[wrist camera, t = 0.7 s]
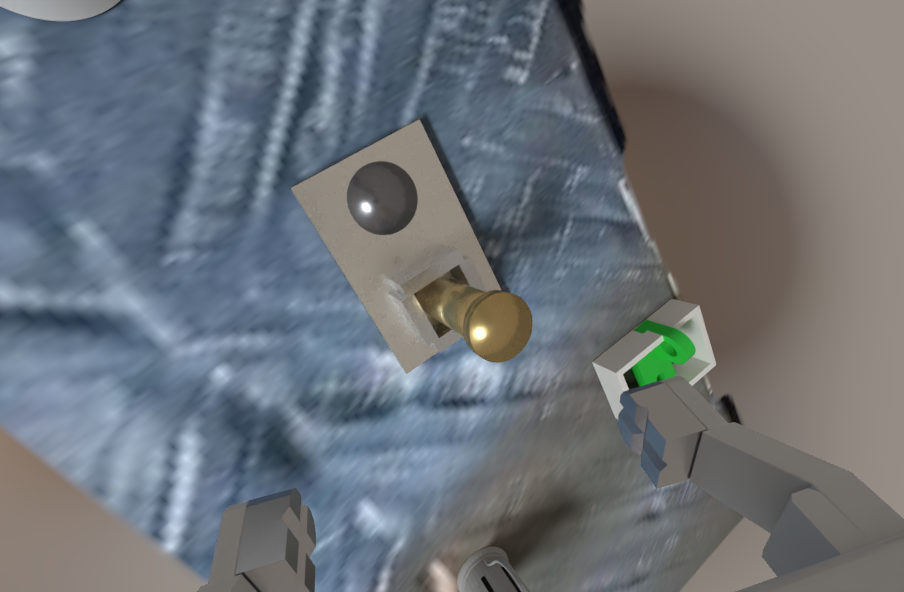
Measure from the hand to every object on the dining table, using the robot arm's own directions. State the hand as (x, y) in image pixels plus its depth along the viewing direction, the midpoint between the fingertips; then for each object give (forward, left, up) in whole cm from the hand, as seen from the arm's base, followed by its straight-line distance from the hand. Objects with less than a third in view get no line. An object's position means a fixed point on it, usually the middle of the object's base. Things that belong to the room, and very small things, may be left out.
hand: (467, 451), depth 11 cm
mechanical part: (+42, +37, -42) cm, 70 cm away
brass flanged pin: (+12, +11, -40) cm, 43 cm away
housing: (+6, +11, -42) cm, 44 cm away
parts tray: (+42, +37, -42) cm, 70 cm away
